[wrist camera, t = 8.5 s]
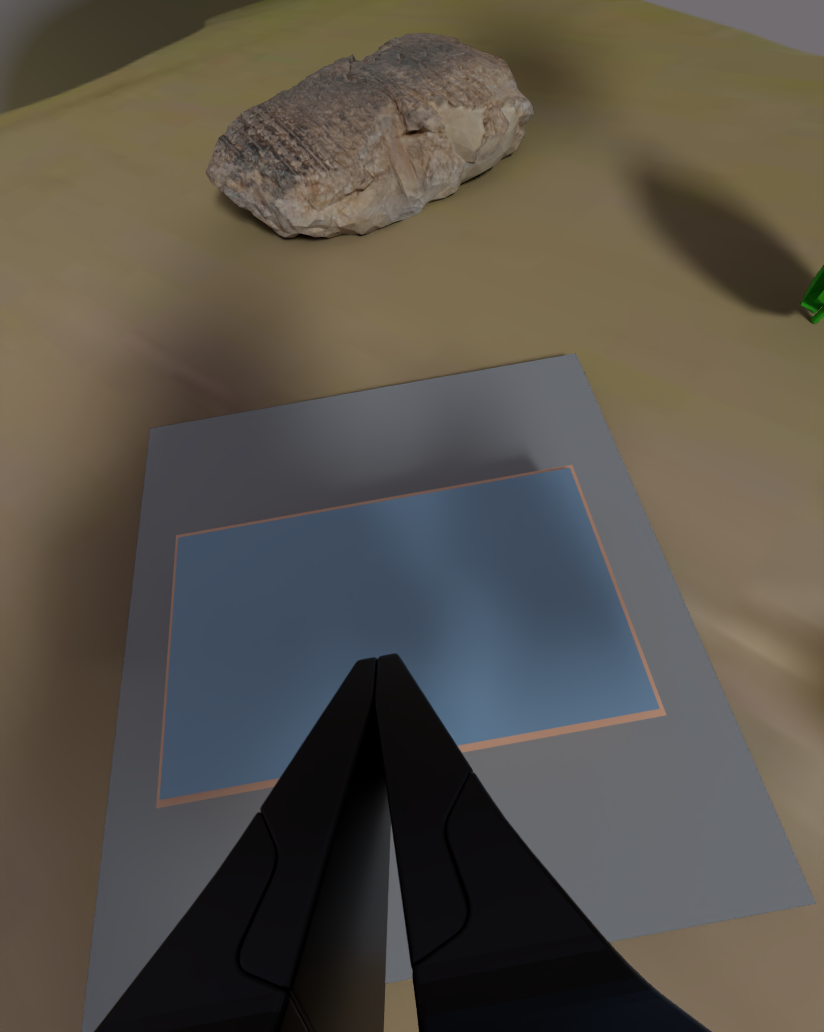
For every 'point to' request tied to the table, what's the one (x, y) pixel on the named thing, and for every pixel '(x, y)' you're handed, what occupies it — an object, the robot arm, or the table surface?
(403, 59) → the clay tablet
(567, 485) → the tile
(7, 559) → the table surface
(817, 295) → the flower
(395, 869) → the mat
